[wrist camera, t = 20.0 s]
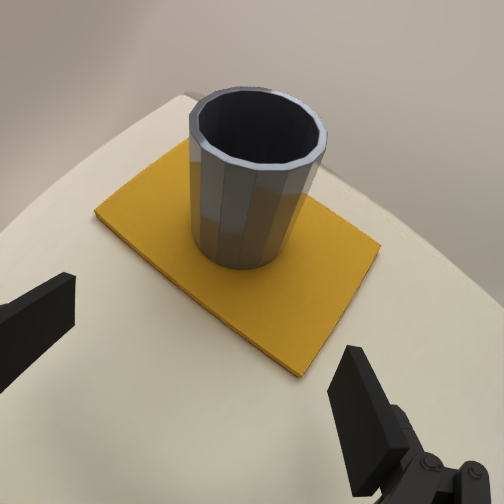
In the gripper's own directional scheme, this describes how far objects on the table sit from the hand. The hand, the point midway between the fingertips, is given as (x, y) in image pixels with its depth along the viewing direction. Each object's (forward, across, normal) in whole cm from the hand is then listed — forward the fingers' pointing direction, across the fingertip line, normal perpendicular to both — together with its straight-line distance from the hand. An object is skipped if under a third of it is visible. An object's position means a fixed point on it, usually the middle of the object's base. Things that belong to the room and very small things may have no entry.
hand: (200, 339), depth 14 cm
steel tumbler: (+12, 0, +3) cm, 12 cm away
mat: (+12, 0, +3) cm, 13 cm away
